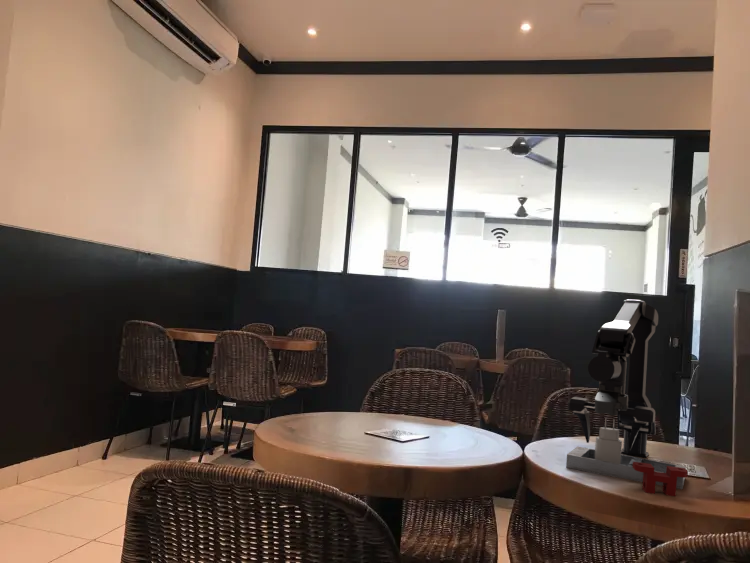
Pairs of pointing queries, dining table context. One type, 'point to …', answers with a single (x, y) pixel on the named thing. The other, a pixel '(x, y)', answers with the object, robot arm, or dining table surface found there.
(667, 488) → the bracket
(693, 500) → the dining table surface
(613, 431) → the power adapter
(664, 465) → the grey rectangular tray
